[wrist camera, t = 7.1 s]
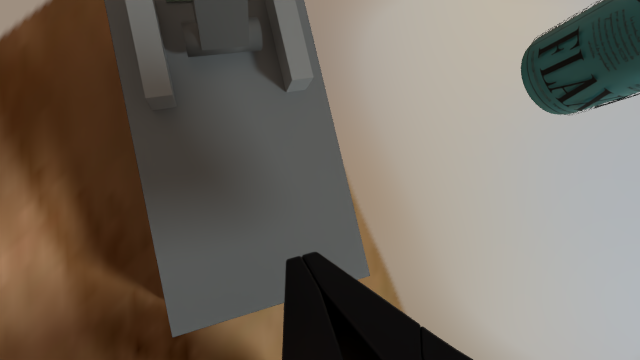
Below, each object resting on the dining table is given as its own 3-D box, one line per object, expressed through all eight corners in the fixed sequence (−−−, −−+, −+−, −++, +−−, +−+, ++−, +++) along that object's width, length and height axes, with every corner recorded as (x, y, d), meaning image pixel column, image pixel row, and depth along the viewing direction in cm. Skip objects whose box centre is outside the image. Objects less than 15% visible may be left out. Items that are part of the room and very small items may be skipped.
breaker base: (337, 264, 22) (383, 280, 16) (184, 309, 19) (166, 349, 13) (281, 27, 23) (304, -48, 16) (128, 39, 20) (88, -45, 14)
